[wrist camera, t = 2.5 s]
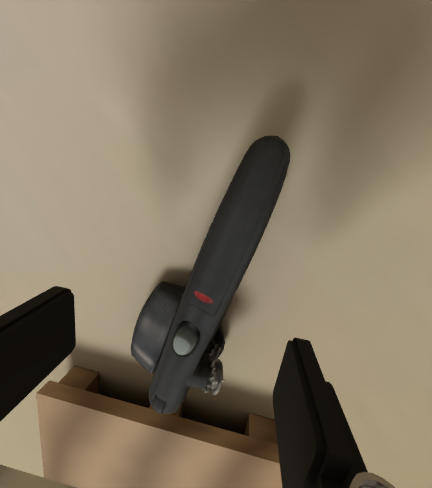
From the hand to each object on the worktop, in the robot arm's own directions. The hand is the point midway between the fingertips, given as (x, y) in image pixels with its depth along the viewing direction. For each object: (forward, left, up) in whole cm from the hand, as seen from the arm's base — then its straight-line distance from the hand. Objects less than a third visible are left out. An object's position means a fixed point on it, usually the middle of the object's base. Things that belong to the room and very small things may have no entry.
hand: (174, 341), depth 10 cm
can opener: (-1, 0, -8) cm, 7 cm away
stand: (+1, +17, -7) cm, 18 cm away
